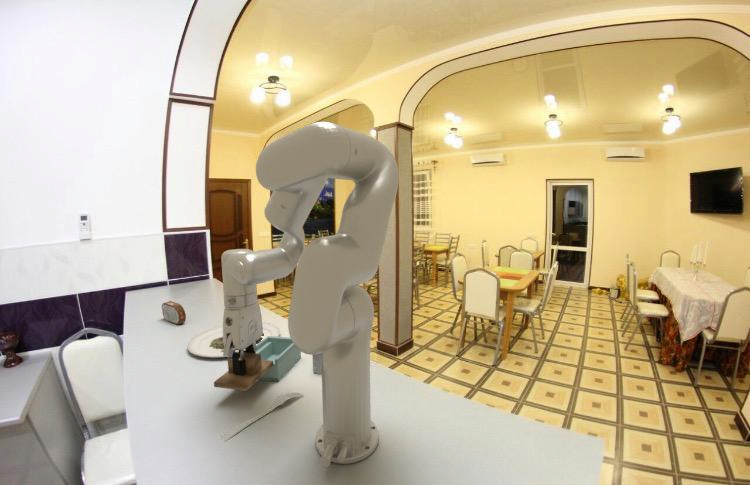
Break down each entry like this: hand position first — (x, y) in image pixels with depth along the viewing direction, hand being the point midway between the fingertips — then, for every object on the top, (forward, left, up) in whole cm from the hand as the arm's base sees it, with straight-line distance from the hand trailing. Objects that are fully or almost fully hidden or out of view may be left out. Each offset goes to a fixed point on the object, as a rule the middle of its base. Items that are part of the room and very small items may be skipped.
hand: (244, 369), depth 79 cm
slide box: (+13, 0, -6) cm, 15 cm away
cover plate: (0, 0, -2) cm, 2 cm away
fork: (-7, -9, -7) cm, 13 cm away
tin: (+40, +61, -7) cm, 73 cm away
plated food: (+28, +23, -7) cm, 37 cm away
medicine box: (+16, -15, -7) cm, 23 cm away
